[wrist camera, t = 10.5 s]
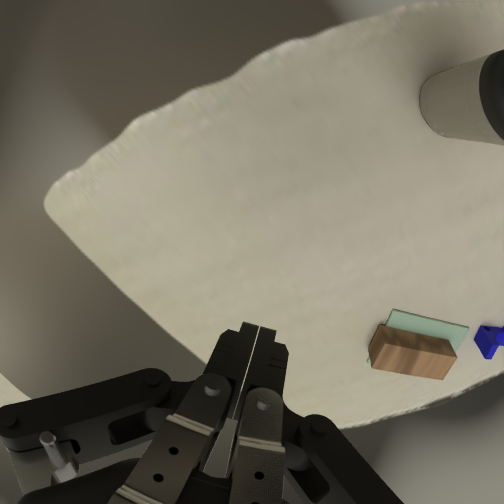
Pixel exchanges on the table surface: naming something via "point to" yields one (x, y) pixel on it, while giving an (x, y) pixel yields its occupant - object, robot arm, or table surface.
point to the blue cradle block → (489, 340)
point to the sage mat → (427, 327)
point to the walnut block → (411, 353)
